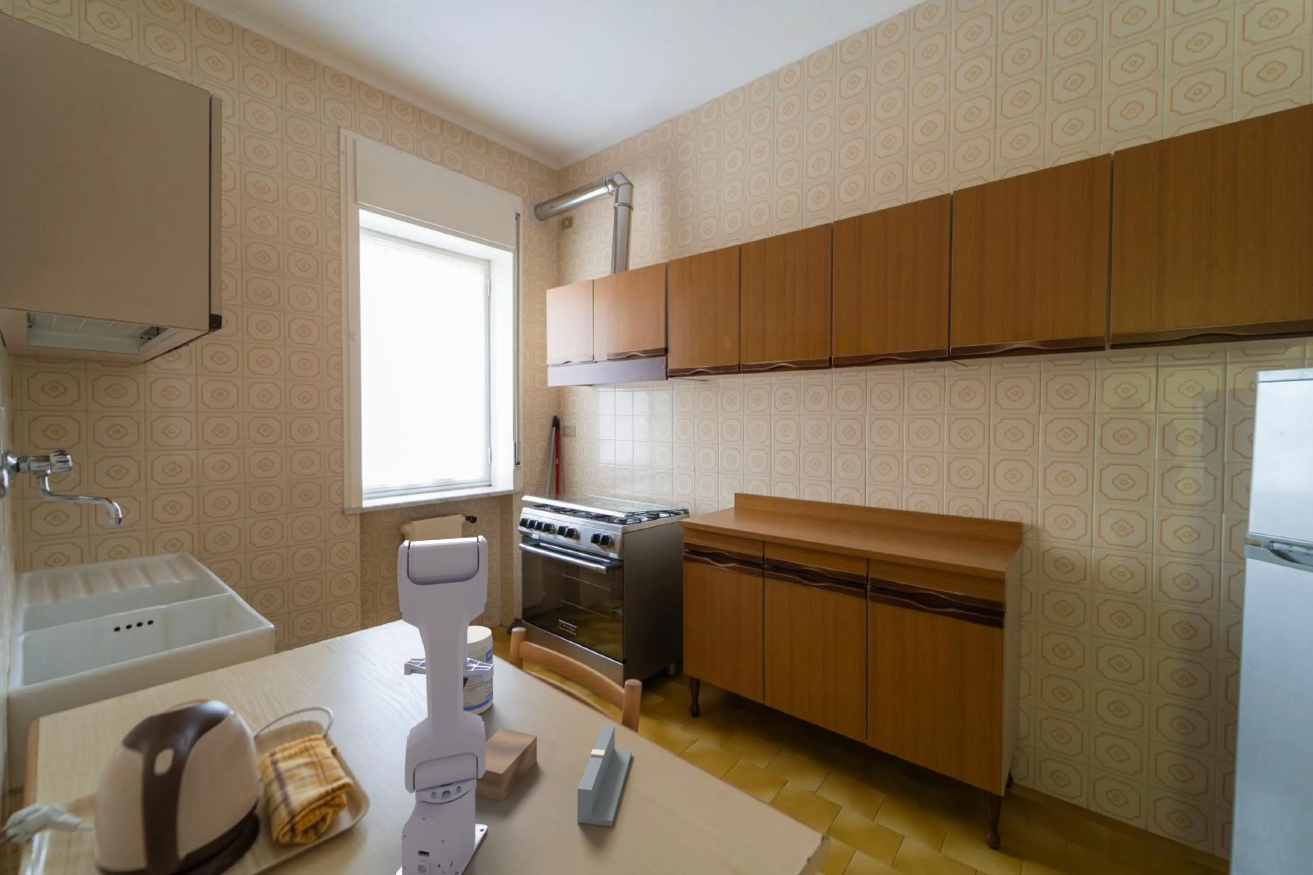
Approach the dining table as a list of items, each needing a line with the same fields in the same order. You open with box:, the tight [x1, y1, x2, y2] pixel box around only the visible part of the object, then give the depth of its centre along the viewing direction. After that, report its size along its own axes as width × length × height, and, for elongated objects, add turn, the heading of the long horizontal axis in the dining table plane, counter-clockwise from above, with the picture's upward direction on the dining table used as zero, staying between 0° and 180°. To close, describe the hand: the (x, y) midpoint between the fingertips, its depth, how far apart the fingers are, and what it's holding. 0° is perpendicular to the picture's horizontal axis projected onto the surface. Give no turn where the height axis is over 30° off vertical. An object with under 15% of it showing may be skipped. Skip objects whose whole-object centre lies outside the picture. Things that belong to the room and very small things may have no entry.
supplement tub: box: [463, 625, 494, 715], centre depth 105 cm, size 10×10×15 cm
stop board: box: [577, 723, 633, 827], centre depth 83 cm, size 16×5×5 cm, turn 172°
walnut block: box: [475, 727, 538, 802], centre depth 85 cm, size 10×7×4 cm
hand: (449, 718), depth 86 cm, fingers closed
